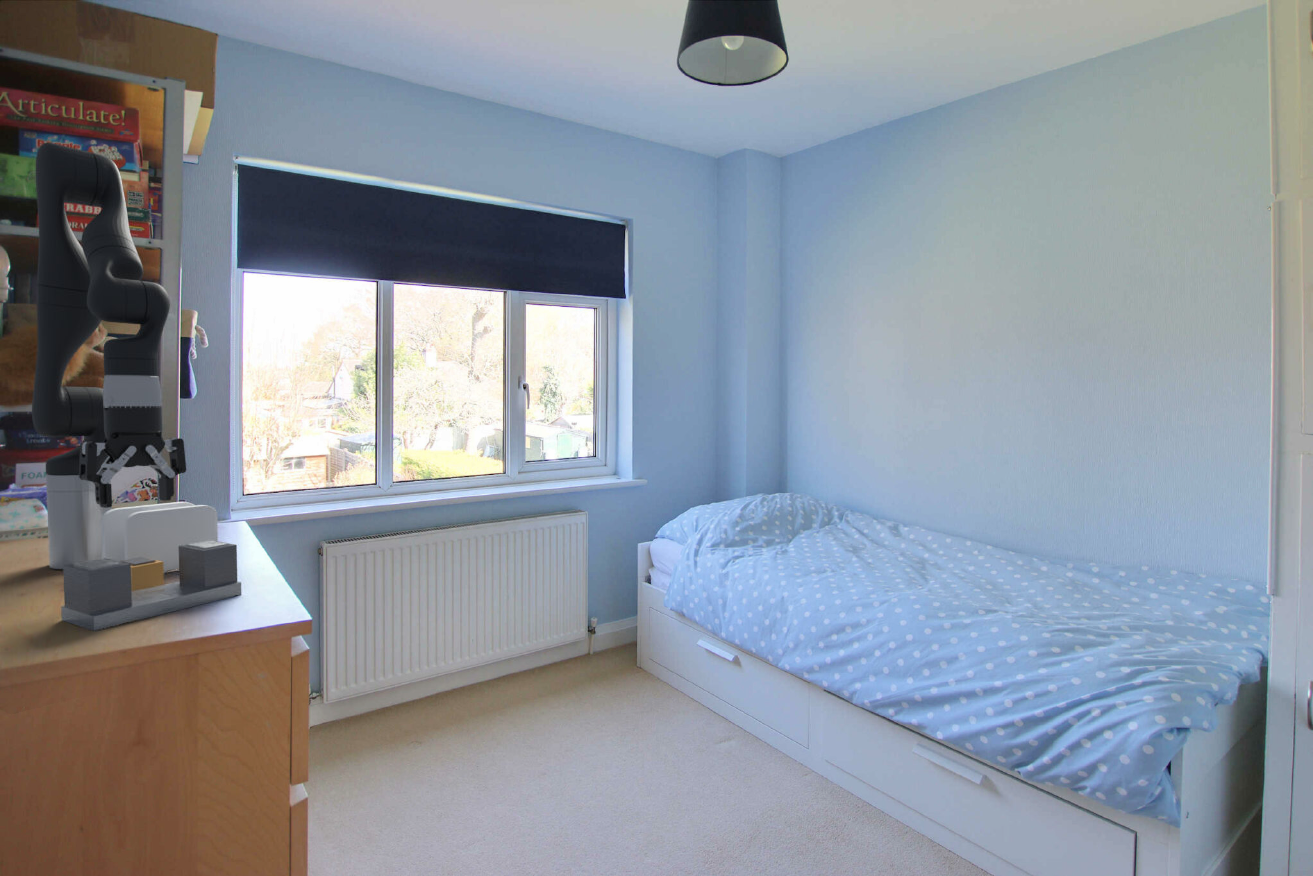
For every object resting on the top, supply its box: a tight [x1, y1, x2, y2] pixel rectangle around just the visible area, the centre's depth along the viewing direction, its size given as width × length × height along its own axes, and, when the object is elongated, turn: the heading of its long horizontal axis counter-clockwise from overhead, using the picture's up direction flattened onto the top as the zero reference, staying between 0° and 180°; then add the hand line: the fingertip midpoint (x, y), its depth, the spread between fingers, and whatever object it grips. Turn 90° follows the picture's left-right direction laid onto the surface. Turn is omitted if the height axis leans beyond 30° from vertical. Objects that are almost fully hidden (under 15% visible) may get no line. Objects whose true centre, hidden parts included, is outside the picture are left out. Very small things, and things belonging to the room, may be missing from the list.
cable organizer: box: [101, 501, 219, 574], centre depth 126 cm, size 15×11×12 cm
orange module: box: [120, 557, 165, 592], centre depth 112 cm, size 6×4×5 cm
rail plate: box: [60, 540, 242, 632], centre depth 103 cm, size 9×20×8 cm, turn 153°
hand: (136, 503), depth 112 cm, fingers open, 8 cm apart
